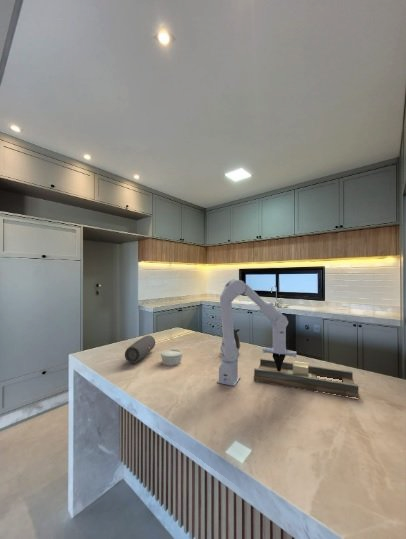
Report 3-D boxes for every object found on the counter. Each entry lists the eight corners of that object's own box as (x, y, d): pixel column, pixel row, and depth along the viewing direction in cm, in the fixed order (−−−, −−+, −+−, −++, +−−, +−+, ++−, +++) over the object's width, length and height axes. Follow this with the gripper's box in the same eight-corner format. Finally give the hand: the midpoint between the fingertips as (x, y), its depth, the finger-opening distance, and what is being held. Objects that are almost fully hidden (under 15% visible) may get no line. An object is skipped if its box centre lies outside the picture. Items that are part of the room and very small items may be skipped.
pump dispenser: (235, 356, 135) (235, 329, 135) (219, 353, 141) (219, 327, 141) (243, 352, 143) (243, 326, 143) (228, 348, 149) (228, 324, 150)
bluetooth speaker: (140, 366, 121) (140, 346, 122) (123, 365, 123) (123, 345, 123) (156, 351, 144) (156, 334, 144) (141, 350, 145) (141, 334, 145)
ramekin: (184, 359, 131) (184, 349, 132) (180, 367, 120) (180, 356, 120) (164, 358, 133) (164, 348, 133) (158, 366, 121) (158, 355, 122)
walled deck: (358, 399, 89) (358, 387, 89) (253, 380, 105) (253, 370, 105) (351, 381, 105) (351, 370, 105) (261, 366, 121) (261, 357, 121)
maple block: (308, 379, 101) (308, 367, 101) (292, 377, 104) (292, 365, 104) (308, 374, 107) (308, 363, 107) (293, 372, 109) (293, 360, 109)
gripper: (296, 340, 110) (296, 369, 110) (264, 336, 116) (264, 364, 116) (295, 344, 103) (295, 375, 103) (261, 340, 109) (261, 370, 109)
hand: (279, 370), depth 109 cm, fingers closed
